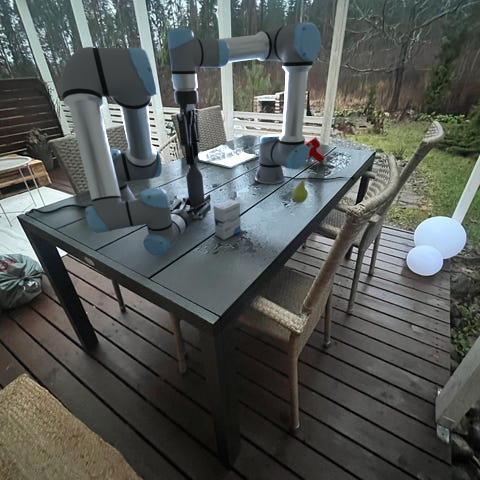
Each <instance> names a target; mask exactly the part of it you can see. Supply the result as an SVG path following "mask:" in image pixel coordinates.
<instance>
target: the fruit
mask: <svg viewBox="0 0 480 480" xmlns="http://www.w3.org/2000/svg"><path fill="white" fill-rule="evenodd" d="M309 177H311V175H310V174H309V175H308V176H306V177H305V178H306V179H301V181H300V182H298V184H297V185H296V186H295V187H294V188H293V190H292V191H291V198H292V200H293V201H294V202H295V203H297V204H301V203H304V202H305V201H306V200H307V198H308V196H309V195H308V190H307V189H306V184H305V183H306V180H308V179H307V178H309Z"/></svg>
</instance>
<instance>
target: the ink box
mask: <svg viewBox="0 0 480 480" xmlns="http://www.w3.org/2000/svg"><path fill="white" fill-rule="evenodd" d="M213 214H214V215H213V217H214V218H213V219H214V233H215V236H217V237H218V238H220V239H222V240H226V239H228V238H230V237H232V236H234V235H236V234H238V233H240V232H241V229H242V228H241V202H239V201H237V200H235V199H233V198H230V199H227V200H226V201H223V202H219V203H218V204H215V205H213Z"/></svg>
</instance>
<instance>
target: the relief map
mask: <svg viewBox="0 0 480 480" xmlns="http://www.w3.org/2000/svg"><path fill="white" fill-rule="evenodd" d="M198 155H199V161H198V162H202V163H207V164H211V165H215V166H219V167H223V168H228V169H233V168H235V167H237V166H239V165H242V164H245V163H247V162H249V161H252V160H254V159H256V158H257V155H256V154H252V153H251V154H250V153H247V152H245V151H244V150H243V149H242V148H241V147H239V148H237V149H232V148H230V147H229V146H228V145H227V144H222V143H221V144H220V145H218V146H216V147H214V148H212V149H208V150H205V151H198Z"/></svg>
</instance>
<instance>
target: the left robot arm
mask: <svg viewBox="0 0 480 480" xmlns="http://www.w3.org/2000/svg"><path fill="white" fill-rule="evenodd" d="M65 62H66V63H65V64H64V67H63V69H62V73H61V78H60V94H61V97H62V101H63V105H64V106H65V107H66V108H68V109H69V113H70V117H71V121H72V125H73V129H74V133H75V138H76V142H77V146H78V150H79V154H80V158H81V162H82V166H83V167H82V168H83V170H84V173H85V174H84V175H85V178H86V179H85V180H86V183H87V187H88V190H89V195H90V199H91V202H92V203H91V204H86V205H81V204H66V205H62V206H59V207H57V208H54V209H51V210H46V211H43V210H40V209H37V208H31V209H30V210H29V213H33V212H34V210H35V212H37V213H39V214H44V215H46V214H47V215H48V214H52V213H56V212H58V211H60V210H63V209H66V208H70V207H71V208H72V207H75V208H79V209H80V208H81V209H85V219H86V223H87V225H88V227H89V229H90V231H91V232H92V233H95V234H98V233H104V232H105V233H106V232H112V231H116V230H122V229H126V228H132V227H139V226H144V225H146V229H147V233H148V234H146V236H144V238H143V242H142V244H143V248H144V249H145V250H146V251H147V252H148V253H149V254H150V255H153V256H159V257H160V256H162V255H164V254H165V253H166V252H168V251H169V250H170V249H171V247H172V246H173V245H174V244H175V243H176V242H177V240H178V239H179V238H180V237H181V236H182V234H184V232H185V231H186V230H187V229H188V228H189V226H190V225H191V223H192V221H194V220H196V219H195V218H198V219H197V220H199V221H203V219H204V218H205V217H206V216H205V215H207V214H208V213H209V212H210V211H211V210H212V206H211V201H212V200H211V194H207V196H205V197H204V200H203V203H201V204H199V205H198V206H196V207H194V208H193V207H192V208H190V205H189V196H188V197H182V199H178V200H176V202H175V203H174V204H173V205H172V206H171V205H170V202H169V201H170V200H169V195H168V192H167V191H166V190H165V189H164V188H160V187H149V188H147V189H144V190H142V191H141V192H140V194H139V195H140V196H139V198H136V197H135V195H134V194H133V193H132V191H131V189H130V187H129V183H128V182H133V181H141V180H151V179H154V178H155V179H156V178H159V177H160V176H161V175H162V170H163V167H162V158H161V153H160V151H159V150H158V149H156V148H155V146H154V145H153V142H152V133H151V123H150V114H149V105H150V104H151V103H152V100H153V97H154V96H156V95H157V94H158V90H157V84H156V81H155V76H154V72H153V68H152V64H151V61H150V57H149V55H148V52H147V51H146V50H145V49H143V48H137V47H131V46H129V47H128V48H127V47H93V46H86V47H85V46H84V47H82V48H80V49H77V50H76V51H74V52H73V53H72V54H71V55H70V56H69V58H68V59H67V61H65ZM103 98H112V100H113V101H114V103H115V104H116V105H117V106H118V107H119V109H120V114H121V119H122V124H123V127H124V128H123V129H124V131H125V137H126V142H127V145H128V146H127V148H126V150H125V151H124V152H121V151H120V149H118V148H111V147H110V142H109V139H108V133H107V130H106V126H105V122H104V117H103V113H102V108H103V106H104V99H103ZM188 206H189V208H187V207H188ZM31 211H32V212H31ZM204 216H205V217H204ZM203 217H204V218H203Z"/></svg>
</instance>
